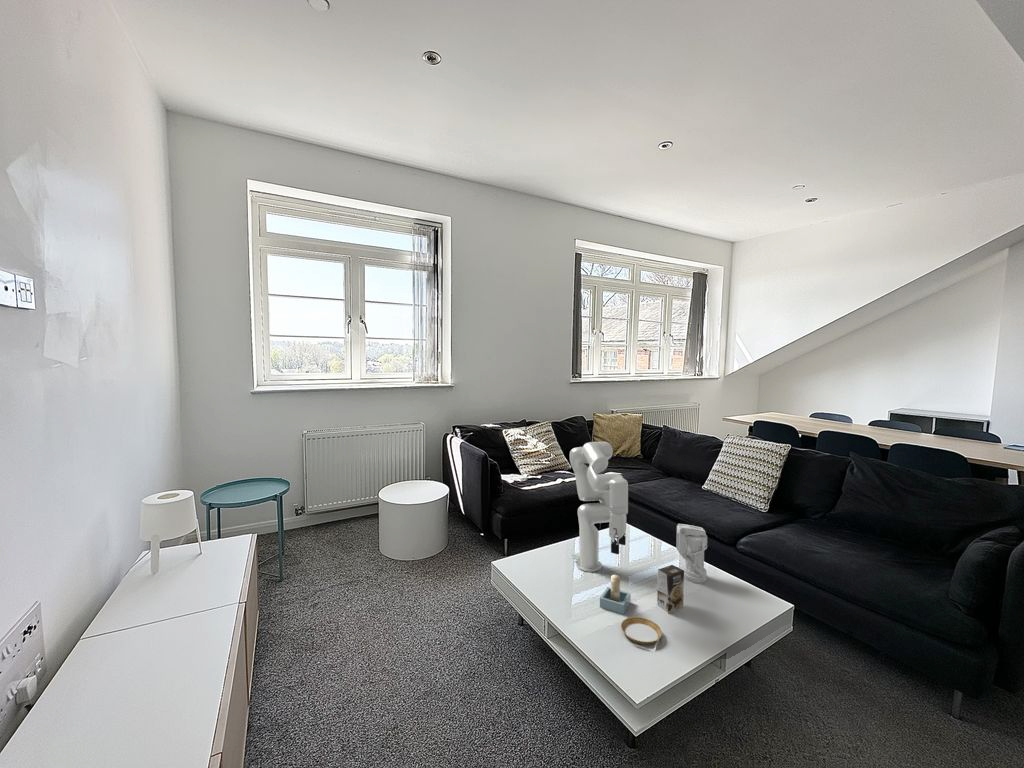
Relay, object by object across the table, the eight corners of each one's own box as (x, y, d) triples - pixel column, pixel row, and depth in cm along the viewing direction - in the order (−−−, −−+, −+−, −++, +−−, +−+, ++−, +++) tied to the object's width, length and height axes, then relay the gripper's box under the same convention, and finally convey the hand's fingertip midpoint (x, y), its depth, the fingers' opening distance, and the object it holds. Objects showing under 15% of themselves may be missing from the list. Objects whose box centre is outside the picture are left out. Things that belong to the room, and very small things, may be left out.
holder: (599, 608, 173) (599, 598, 173) (607, 596, 182) (607, 586, 182) (623, 616, 168) (623, 605, 168) (630, 603, 177) (630, 593, 176)
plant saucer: (634, 618, 167) (634, 612, 167) (669, 636, 156) (669, 629, 156) (613, 634, 157) (613, 627, 157) (648, 654, 146) (648, 647, 146)
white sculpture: (702, 572, 202) (703, 522, 200) (709, 584, 191) (710, 531, 190) (674, 571, 203) (675, 521, 202) (680, 582, 193) (681, 530, 192)
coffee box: (668, 614, 169) (669, 575, 168) (656, 606, 175) (656, 568, 174) (684, 608, 173) (684, 570, 172) (671, 600, 179) (672, 563, 178)
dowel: (609, 605, 174) (609, 577, 174) (612, 601, 177) (612, 573, 177) (618, 608, 173) (618, 580, 172) (620, 603, 176) (621, 576, 175)
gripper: (615, 501, 183) (615, 539, 183) (603, 513, 168) (603, 555, 168) (632, 503, 179) (632, 542, 180) (621, 516, 164) (621, 559, 165)
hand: (618, 548), depth 174 cm, fingers open, 9 cm apart
